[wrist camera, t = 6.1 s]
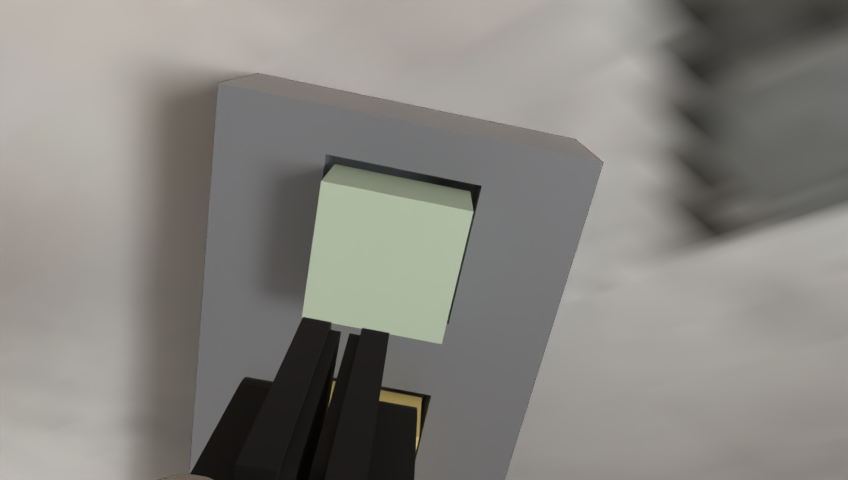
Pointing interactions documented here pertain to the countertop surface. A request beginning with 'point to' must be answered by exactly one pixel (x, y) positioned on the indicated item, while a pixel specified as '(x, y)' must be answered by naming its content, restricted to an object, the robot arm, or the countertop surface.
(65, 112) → the countertop surface
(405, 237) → the sage key
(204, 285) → the console
